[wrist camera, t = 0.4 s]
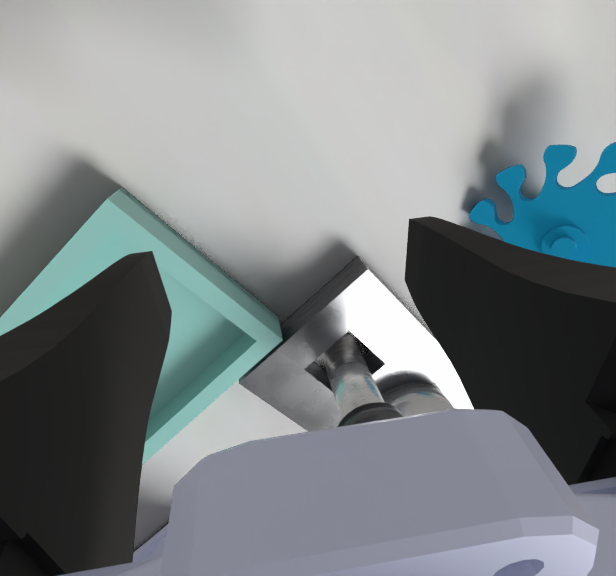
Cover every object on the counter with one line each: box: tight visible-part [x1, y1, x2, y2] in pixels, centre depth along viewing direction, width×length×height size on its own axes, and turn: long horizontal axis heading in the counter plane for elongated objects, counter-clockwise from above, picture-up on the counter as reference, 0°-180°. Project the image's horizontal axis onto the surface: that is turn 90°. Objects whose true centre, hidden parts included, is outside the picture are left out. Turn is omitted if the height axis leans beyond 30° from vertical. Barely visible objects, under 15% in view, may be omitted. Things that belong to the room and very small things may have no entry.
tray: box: [0, 187, 283, 465], centre depth 22 cm, size 14×11×2 cm
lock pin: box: [321, 333, 405, 427], centre depth 22 cm, size 4×4×8 cm
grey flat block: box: [239, 256, 474, 432], centre depth 26 cm, size 10×14×4 cm
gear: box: [469, 142, 616, 267], centre depth 22 cm, size 11×6×10 cm
